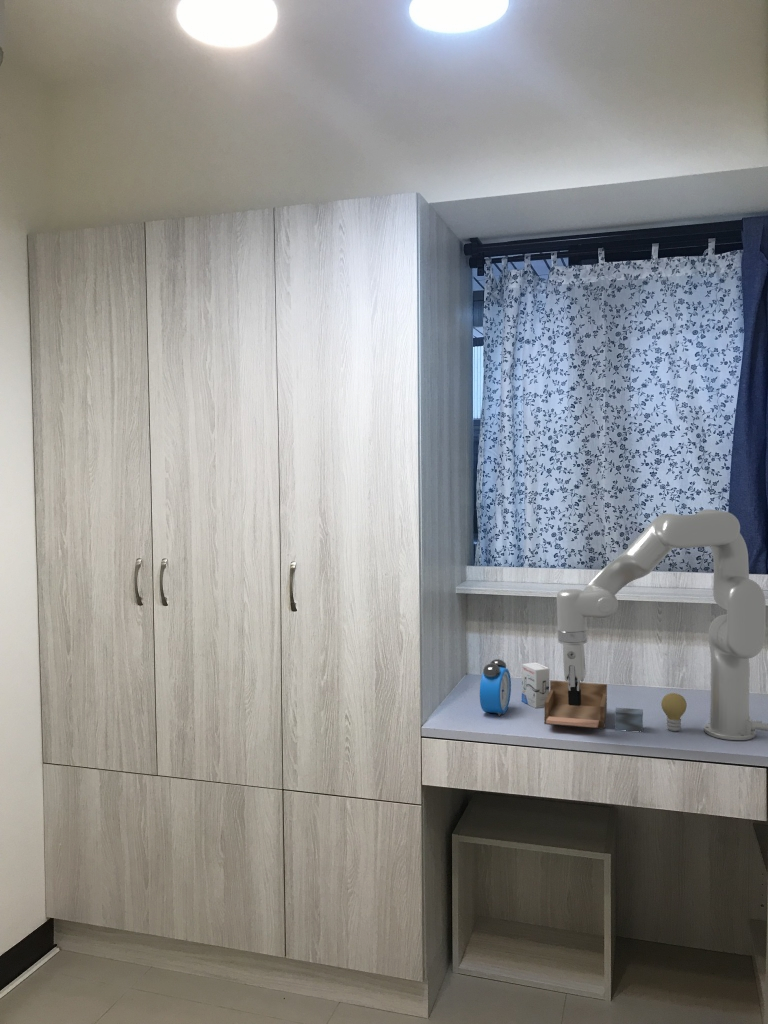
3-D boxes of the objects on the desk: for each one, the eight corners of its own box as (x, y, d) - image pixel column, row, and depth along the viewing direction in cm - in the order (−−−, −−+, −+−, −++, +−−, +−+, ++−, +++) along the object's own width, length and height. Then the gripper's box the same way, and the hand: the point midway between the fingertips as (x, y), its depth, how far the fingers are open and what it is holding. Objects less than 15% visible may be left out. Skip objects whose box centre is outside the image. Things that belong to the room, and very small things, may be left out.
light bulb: (666, 725, 229) (666, 689, 228) (689, 729, 225) (690, 692, 224) (657, 730, 224) (657, 694, 223) (681, 735, 220) (681, 698, 219)
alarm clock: (499, 720, 235) (499, 667, 234) (478, 717, 237) (478, 665, 237) (511, 707, 247) (511, 657, 246) (491, 705, 249) (491, 656, 249)
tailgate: (599, 719, 226) (597, 724, 219) (599, 722, 226) (597, 727, 219) (549, 715, 230) (546, 720, 223) (549, 718, 230) (546, 723, 223)
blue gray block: (642, 727, 227) (642, 709, 227) (642, 732, 223) (642, 714, 222) (615, 725, 229) (615, 707, 229) (615, 730, 225) (615, 712, 224)
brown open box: (606, 713, 240) (606, 684, 240) (603, 728, 226) (604, 697, 226) (550, 708, 245) (550, 680, 245) (544, 723, 231) (544, 693, 230)
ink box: (520, 701, 254) (520, 663, 253) (535, 699, 255) (535, 661, 255) (535, 708, 246) (535, 669, 245) (550, 706, 247) (550, 667, 247)
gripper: (585, 642, 212) (587, 713, 213) (588, 631, 226) (591, 697, 227) (555, 642, 214) (557, 712, 215) (560, 630, 229) (563, 696, 229)
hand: (574, 704), depth 221 cm, fingers closed
